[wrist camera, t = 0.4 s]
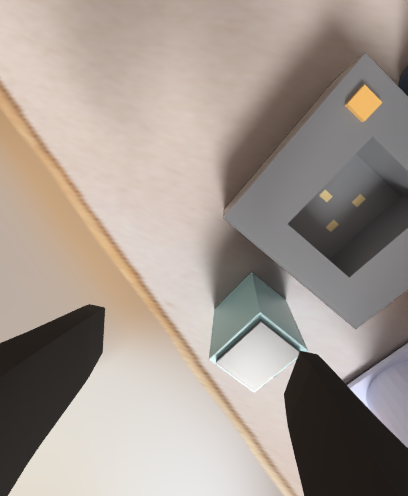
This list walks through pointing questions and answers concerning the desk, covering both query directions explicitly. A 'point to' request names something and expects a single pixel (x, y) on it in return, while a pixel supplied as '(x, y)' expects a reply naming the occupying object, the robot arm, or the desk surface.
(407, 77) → the vaping device
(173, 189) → the desk surface
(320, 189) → the socket
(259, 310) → the plug
